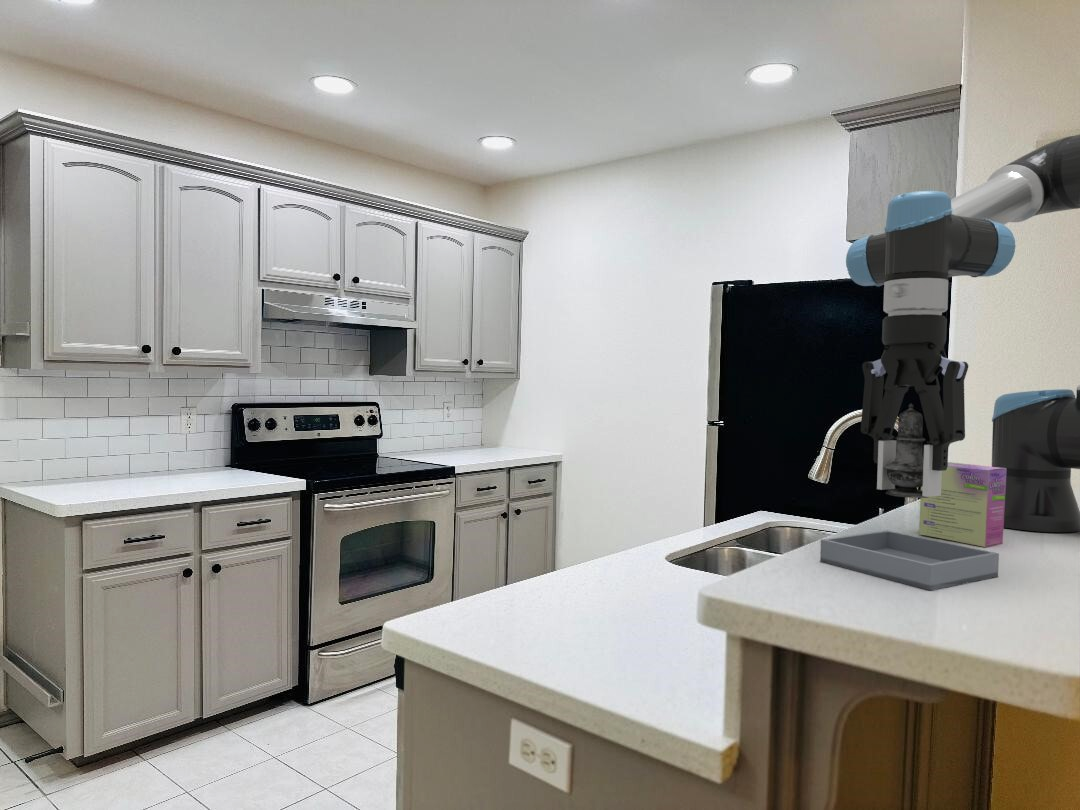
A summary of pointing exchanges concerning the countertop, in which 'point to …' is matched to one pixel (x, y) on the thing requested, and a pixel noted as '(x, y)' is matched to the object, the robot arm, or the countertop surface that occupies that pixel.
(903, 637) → the countertop surface
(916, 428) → the salt shaker
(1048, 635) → the countertop surface
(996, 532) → the box
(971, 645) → the countertop surface
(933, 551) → the tray
